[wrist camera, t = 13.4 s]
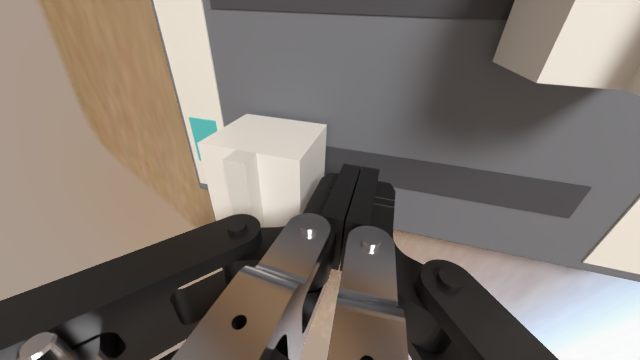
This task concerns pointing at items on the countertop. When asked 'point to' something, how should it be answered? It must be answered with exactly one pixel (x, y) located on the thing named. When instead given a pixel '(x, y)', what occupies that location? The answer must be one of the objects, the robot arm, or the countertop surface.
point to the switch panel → (423, 118)
